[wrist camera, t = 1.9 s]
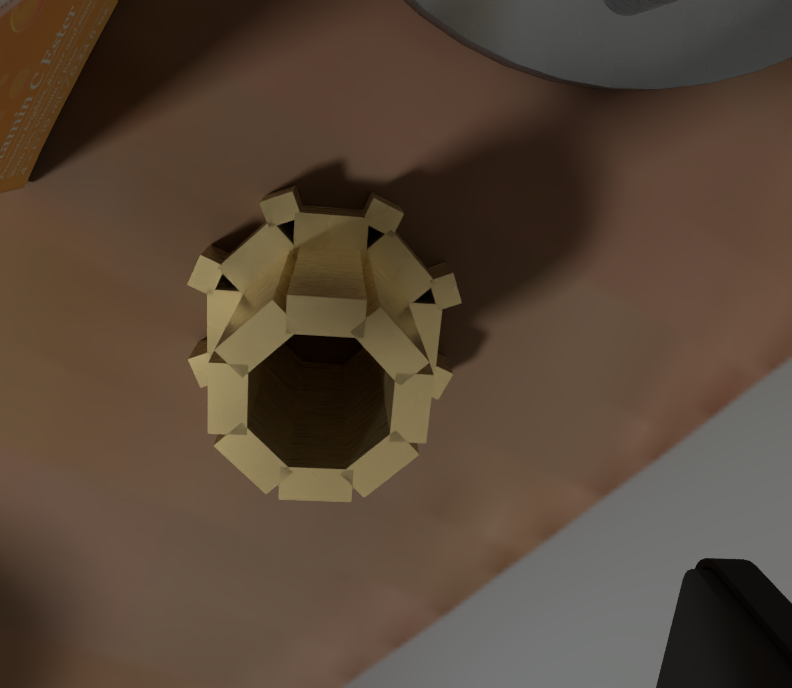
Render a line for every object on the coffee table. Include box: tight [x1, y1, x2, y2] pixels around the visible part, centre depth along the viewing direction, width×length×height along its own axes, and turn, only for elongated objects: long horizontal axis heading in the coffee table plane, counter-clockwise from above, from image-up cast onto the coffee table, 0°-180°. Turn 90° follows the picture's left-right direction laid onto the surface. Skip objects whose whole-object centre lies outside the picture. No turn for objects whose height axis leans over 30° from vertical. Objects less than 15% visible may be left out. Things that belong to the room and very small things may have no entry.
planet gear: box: [187, 185, 462, 502], centre depth 17 cm, size 8×7×6 cm
